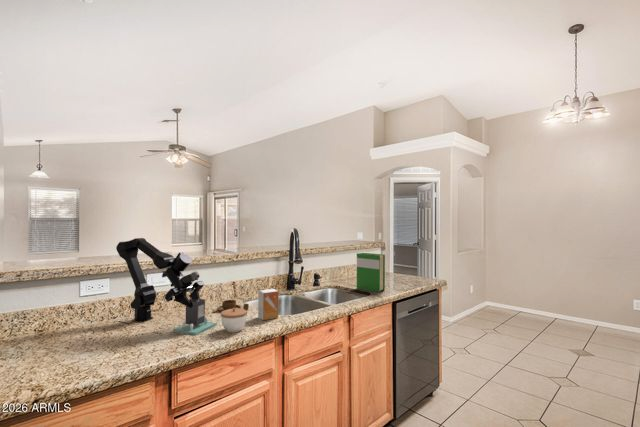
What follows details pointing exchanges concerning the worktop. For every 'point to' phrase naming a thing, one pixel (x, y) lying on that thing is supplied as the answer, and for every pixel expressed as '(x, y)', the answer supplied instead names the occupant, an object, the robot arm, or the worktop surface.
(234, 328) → the lidded jar
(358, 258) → the hardback book
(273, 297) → the small box
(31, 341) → the worktop surface
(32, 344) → the worktop surface
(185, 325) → the pin tray
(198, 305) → the plate
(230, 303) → the place setting
